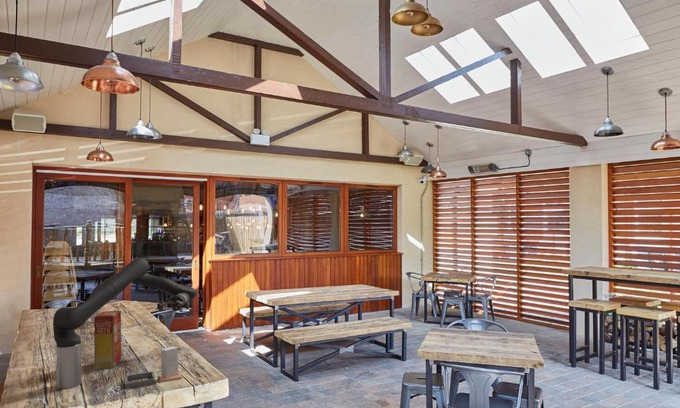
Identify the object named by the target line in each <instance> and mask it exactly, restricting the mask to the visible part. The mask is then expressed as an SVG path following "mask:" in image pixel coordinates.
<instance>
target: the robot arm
mask: <svg viewBox="0 0 680 408" xmlns="http://www.w3.org/2000/svg"><path fill="white" fill-rule="evenodd" d="M149 268H150V263H149V262H148V261H147V259H145V258H142V257H138V258H135V259H133V260H131V261H130V262H129V263H128V264H126V265H125V266H124V268H123V269H122V270H120V271H119V272H117V273H115V274H114V275H112V276H110V277H108V278H107V279H105V280H104V281H102V282H100V283H99V284H98V285H96V287H94V288H93V289H92V291H91V292H90V295H89V297H88V298H87V299H86V300H85V301H83V302H82V303H81V304H79V305H77V306H75V307H71V306H69V307H68V306H66V307H64V306H63V307H60V308H58V309H57V310H56V311H55V313H53V318H52V319H53V320H52V329H53V340H54V341H55V343H56V344H55V345H56V348H55V349H56V365H55V389H56V390H57V389H71V388H75V387H77V386H79V385H81V384H82V379H83V378H82V376H83V375H82V341H81V340H82V338H81V336H80V335H78V334H77V332H75V330H77V329H78V328H80V327H82V326H83V325H84V324H85V323H86V322H87V321H88V320H89V319H90V318H91V317H92V316H93V315H94V314H96V312H97V311H99V310H100V309H102V308H103V307H104V306H106V305H107V304H108V303H110V302H111V301H113V299H114V298H117V296H118V295H120V294H121V293H122V292H123V291H124V290H125V289H126V288H127V287H128V286H130V284H132V283H133V282H137V283H140V284H143V285H146V286H149V287H151V288H154V289H157V290H159V291H161V292H163V293H165V294H167V295H168V296H171V297H170V299H169V300H168V301H166V302H165V301H164V302H163V301H161V302H158V303H157V304H156V309H157V310H158V311H163V310H171V311H174V312H179V311H180V310H182V309H188V308H189V307H190V304H191V303H192V301H193V300H194V299H195V297H196V296H197V290H196V289H195V288H194V287H191V286H188V285H183V284H179V283H178V282H176V281H173V280H172V279H169V278H166V277H162V276H157V275H152V274H150V273H148V271H149Z"/></svg>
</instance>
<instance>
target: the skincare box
mask: <svg viewBox="0 0 680 408" xmlns="http://www.w3.org/2000/svg"><path fill="white" fill-rule="evenodd" d="M178 351H179V350H178V347H177V346H170V347H169V346H168V347H165V348H162V349H160V364H161V366H160V368H161V369H160V370H161V374H162V377H165V378H168V377H171V376H174V375H177V374H178V371H179V352H178Z"/></svg>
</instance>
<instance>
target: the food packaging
mask: <svg viewBox="0 0 680 408" xmlns="http://www.w3.org/2000/svg"><path fill="white" fill-rule="evenodd" d="M93 320H94V321H93V322H94V323H93V327H94V330H93V332H94V333H93V334H94V343H93V344H94V346H93V347H94V354H93V355H94V359H93V360H94V366H93V367H94V368H93V370H105V369H114V368H115V367H116V366H117V365H118V364H119V363H120V362H121V361H122V310H109V311H107V310H106V311H102V312H100V313H99V314H97V315H96V316H94V319H93Z"/></svg>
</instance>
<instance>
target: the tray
mask: <svg viewBox="0 0 680 408" xmlns="http://www.w3.org/2000/svg"><path fill="white" fill-rule="evenodd" d="M145 378H150V379H145ZM140 379H145V380H140ZM155 379H156V377H155V372H154V371H146V372H142V373H141V372H140V373H134V374H133V373H132V374H127V375H125V380H124V389H130V388H131V389H132V388H138V387H144V386H145V387H146V386H150V385H151V384H152V385H156V381H155ZM131 380H132V382H128V381H131ZM133 380H138V381H133Z"/></svg>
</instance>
